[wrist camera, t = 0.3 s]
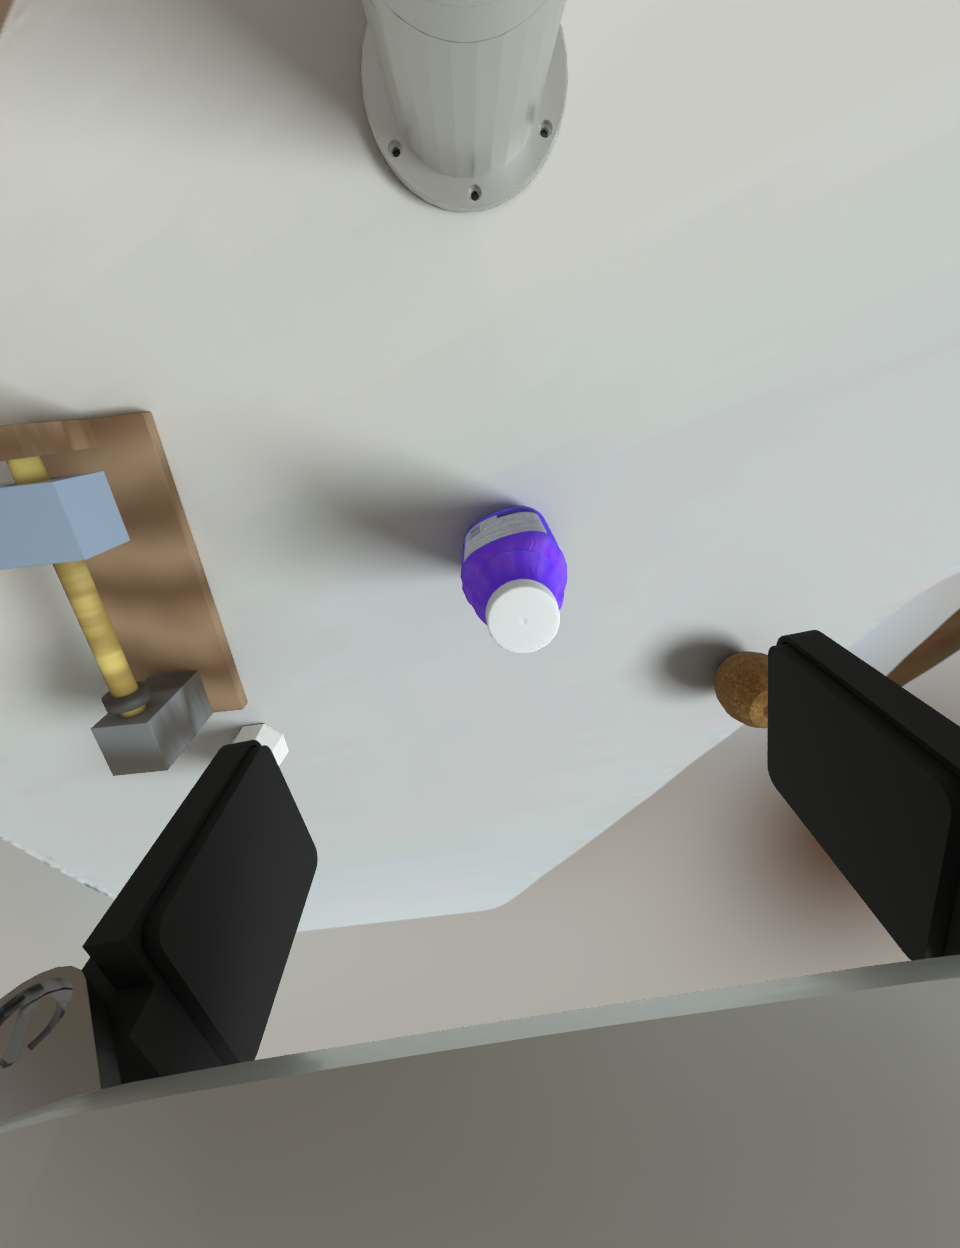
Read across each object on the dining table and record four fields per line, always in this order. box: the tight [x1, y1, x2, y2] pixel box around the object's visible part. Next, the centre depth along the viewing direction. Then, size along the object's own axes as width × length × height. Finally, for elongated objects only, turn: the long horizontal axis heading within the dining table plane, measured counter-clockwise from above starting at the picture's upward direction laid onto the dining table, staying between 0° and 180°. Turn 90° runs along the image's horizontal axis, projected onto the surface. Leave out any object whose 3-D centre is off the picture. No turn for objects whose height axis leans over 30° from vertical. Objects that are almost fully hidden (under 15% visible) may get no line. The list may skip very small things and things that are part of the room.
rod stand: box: [0, 412, 248, 776], centre depth 41 cm, size 26×10×10 cm, turn 6°
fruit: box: [714, 652, 768, 728], centre depth 47 cm, size 6×6×8 cm
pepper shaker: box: [232, 724, 289, 766], centre depth 48 cm, size 5×5×11 cm
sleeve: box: [0, 471, 130, 570], centre depth 36 cm, size 5×6×5 cm
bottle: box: [461, 506, 567, 653], centre depth 37 cm, size 7×6×17 cm
